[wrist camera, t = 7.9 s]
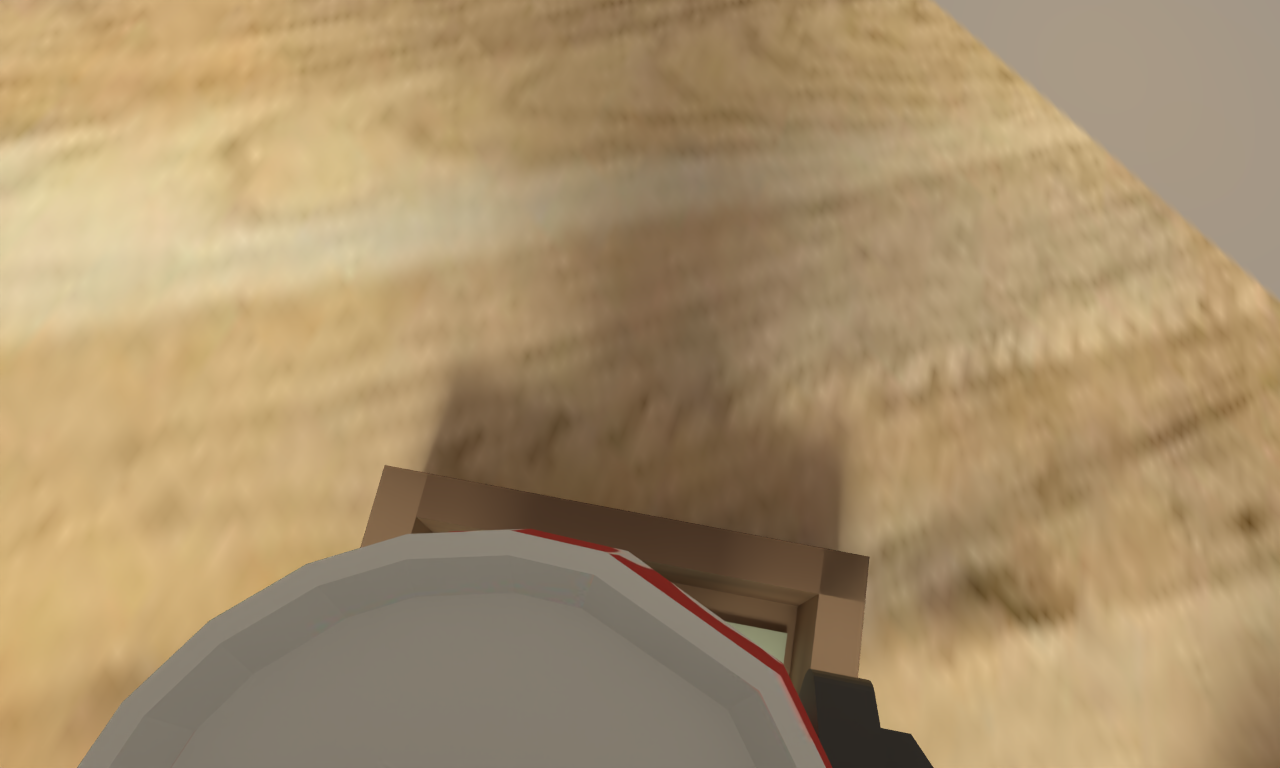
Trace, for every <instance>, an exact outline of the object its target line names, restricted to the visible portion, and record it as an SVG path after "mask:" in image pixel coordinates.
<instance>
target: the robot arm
mask: <svg viewBox="0 0 1280 768" xmlns="http://www.w3.org/2000/svg"><path fill="white" fill-rule="evenodd" d="M799 698H800V700H801V702H802V705H803V707H804V709H805V711H806V713H807V715H808V717H809V719H810V721H811V724H812V726H813V728H814V730H815V732H816V734H817V736H818V738H819V740H820V743H821V745H822V747H823V749H824V751H825V753H826V755H827V757H828V759H829V761H830V764H831V766H832V768H933V766H932V765H931V763H930V762H929V760H928V759H927V757H926V756H925V754H924V753H923V751H922V750H921V748H920V747H919V745H918V744H917V742H916V741H915V739H914V738H913V736H912V735H911V734H908V733H903V732H898V731H893V730H888V729H883V728H880V722H879V716H878V710H877V704H876V698H875V692H874V688H873V685H872V683H871V681H869V680H866V679H861V678H856V677H851V676H845V675H840V674H835V673H830V672H825V671H820V670H815V669H808V671H807V672H806V674H805V677H804V679H803V683H802V686H801V690H800V693H799Z"/></svg>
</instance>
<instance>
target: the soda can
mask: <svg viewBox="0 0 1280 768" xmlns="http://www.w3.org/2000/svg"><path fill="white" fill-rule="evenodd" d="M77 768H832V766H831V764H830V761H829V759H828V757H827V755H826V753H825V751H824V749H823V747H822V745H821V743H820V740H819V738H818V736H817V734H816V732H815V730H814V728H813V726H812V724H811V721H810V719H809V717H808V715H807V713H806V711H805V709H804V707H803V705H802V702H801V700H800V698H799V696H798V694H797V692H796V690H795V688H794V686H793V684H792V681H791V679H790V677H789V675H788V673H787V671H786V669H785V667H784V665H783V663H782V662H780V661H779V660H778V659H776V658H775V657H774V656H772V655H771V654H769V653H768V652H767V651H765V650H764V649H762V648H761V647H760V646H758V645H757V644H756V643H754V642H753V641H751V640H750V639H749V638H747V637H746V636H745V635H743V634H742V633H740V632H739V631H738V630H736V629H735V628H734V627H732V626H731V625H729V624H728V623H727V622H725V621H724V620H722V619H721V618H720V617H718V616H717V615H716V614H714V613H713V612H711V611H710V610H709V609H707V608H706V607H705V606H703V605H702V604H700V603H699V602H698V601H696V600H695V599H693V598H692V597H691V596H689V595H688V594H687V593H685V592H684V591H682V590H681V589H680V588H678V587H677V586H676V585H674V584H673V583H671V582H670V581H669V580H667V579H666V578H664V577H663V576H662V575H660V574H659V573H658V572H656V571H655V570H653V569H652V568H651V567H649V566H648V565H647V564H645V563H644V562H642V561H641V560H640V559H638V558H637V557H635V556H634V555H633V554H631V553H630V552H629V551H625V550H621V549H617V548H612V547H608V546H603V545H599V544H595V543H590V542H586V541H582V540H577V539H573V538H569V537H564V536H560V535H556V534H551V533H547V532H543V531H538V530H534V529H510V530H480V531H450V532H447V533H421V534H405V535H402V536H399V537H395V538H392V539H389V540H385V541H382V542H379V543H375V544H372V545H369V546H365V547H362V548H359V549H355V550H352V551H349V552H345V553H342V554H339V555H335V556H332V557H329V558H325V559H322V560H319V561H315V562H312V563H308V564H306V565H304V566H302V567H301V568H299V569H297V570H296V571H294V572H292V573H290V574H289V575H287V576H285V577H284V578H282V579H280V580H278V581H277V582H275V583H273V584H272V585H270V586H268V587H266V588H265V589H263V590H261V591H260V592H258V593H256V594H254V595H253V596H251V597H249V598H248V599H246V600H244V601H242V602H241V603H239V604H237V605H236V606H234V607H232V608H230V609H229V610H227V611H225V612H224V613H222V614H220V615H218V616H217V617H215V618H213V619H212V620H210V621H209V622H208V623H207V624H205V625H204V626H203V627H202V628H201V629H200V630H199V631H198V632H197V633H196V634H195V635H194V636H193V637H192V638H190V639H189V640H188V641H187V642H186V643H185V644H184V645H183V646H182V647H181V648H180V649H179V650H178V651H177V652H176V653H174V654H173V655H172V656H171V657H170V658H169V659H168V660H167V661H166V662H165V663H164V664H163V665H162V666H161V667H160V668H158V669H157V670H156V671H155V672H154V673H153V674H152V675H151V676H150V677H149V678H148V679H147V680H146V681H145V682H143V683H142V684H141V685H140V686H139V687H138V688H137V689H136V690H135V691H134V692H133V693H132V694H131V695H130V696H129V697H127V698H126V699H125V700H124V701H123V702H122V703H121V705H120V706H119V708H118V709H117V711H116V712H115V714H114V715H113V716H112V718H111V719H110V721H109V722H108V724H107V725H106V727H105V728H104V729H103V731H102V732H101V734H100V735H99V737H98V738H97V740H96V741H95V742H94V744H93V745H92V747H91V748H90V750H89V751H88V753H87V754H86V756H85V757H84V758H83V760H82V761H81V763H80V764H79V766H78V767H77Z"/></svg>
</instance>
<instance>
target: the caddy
mask: <svg viewBox="0 0 1280 768" xmlns="http://www.w3.org/2000/svg"><path fill="white" fill-rule="evenodd" d="M510 529H534V530H538V531H543V532H547V533H551V534H556V535H560V536H564V537H569V538H573V539H577V540H582V541H586V542H590V543H595V544H599V545H603V546H608V547H612V548H617V549H621V550H625V551H629V552H630V553H631V554H633V555H634V556H635V557H637V558H638V559H640V560H641V561H642V562H644V563H645V564H647V565H648V566H649V567H651V568H652V569H653V570H655V571H656V572H658V573H659V574H660V575H662V576H663V577H664V578H666V579H667V580H669V581H670V582H671V583H673V584H674V585H676V586H677V587H678V588H680V589H681V590H682V591H684V592H685V593H687V594H688V595H689V596H691V597H692V598H693V599H695V600H696V601H698V602H699V603H700V604H702V605H703V606H705V607H706V608H707V609H709V610H710V611H711V612H713V613H714V614H716V615H717V616H718V617H720V618H721V619H722V620H724V621H725V622H727V623H728V624H729V625H731V626H732V627H734V628H735V629H736V630H738V631H739V632H740V633H742V634H743V635H745V636H746V637H747V638H749V639H750V640H751V641H753V642H754V643H756V644H757V645H758V646H760V647H761V648H762V649H764V650H765V651H767V652H768V653H769V654H771V655H772V656H774V657H775V658H776V659H778V660H779V661H780V662H782V663H783V665H784V667H785V669H786V671H787V673H788V675H789V677H790V679H791V681H792V684H793V686H794V688H795V690H796V692H797V694H798V696H799V693H800V690H801V686H802V683H803V679H804V677H805V674H806V672H807V671H808V669H815V670H820V671H825V672H830V673H835V674H840V675H845V676H851V677H856V678H858V671H859V660H860V650H861V639H862V629H863V619H864V608H865V598H866V587H867V577H868V567H869V557H867V556H862V555H857V554H852V553H846V552H841V551H836V550H830V549H825V548H820V547H815V546H809V545H804V544H799V543H793V542H788V541H783V540H778V539H772V538H767V537H762V536H756V535H751V534H746V533H741V532H735V531H730V530H725V529H719V528H714V527H709V526H704V525H698V524H693V523H688V522H682V521H677V520H672V519H667V518H661V517H656V516H651V515H645V514H640V513H635V512H630V511H624V510H619V509H614V508H608V507H603V506H598V505H593V504H587V503H582V502H577V501H571V500H566V499H561V498H556V497H550V496H545V495H540V494H534V493H529V492H524V491H519V490H513V489H508V488H503V487H497V486H492V485H487V484H482V483H476V482H471V481H466V480H460V479H455V478H450V477H445V476H439V475H434V474H429V473H423V472H418V471H413V470H408V469H402V468H397V467H392V466H386V465H385V466H384V470H383V473H382V476H381V480H380V483H379V487H378V490H377V493H376V497H375V500H374V503H373V507H372V510H371V514H370V517H369V520H368V524H367V527H366V531H365V534H364V537H363V541H362V544H361V547H360V548H362V547H365V546H369V545H372V544H375V543H379V542H382V541H385V540H389V539H392V538H395V537H399V536H402V535H405V534H421V533H447V532H450V531H480V530H510Z"/></svg>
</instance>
